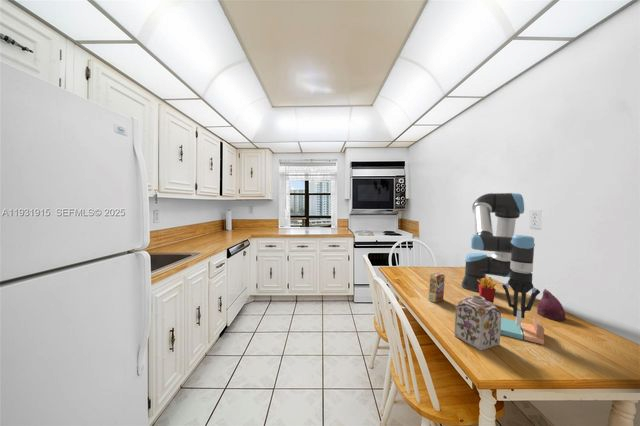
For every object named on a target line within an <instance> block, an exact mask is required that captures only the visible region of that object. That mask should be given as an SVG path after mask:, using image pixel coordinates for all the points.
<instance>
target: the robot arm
mask: <svg viewBox="0 0 640 426" xmlns="http://www.w3.org/2000/svg"><path fill="white" fill-rule="evenodd" d="M471 208H472V209H471V210H472V213H473V215H474V229H475V230H474V231H475V234H472V235H471V239H470V240H471V241H470V242H471V243H470V248H471V249H473V250H477V251H484V252H492V253H491V254H490V256H488V255H487V253H483V252H482V253H481V252H473V253H471V252H470V253H468V254H466V255H465V266H464V269H465V270H464V277H463V278H462V281H461V285H460V286H461V288H463V289H465V290H468V291H471V290H472V291H471V292H476V291H477V293H479V284H480V283H479V282H478V281H477V279H478V280H480V279H482V278H485V277H486V276H487V275H488V276H497V277H503V278H509V279H508V281H507V282H505V283H502V284H501V286H502V288H503V290H504V291H505V292H504V293H505V297H506V300H507V301H506V302H507V304H508V307H509V308H511V309H512V315H513V317H515V321H516V325H519V326H521V322H522V319H525V317H526V315H525V313H526V311H527V312H530V311H531V310H532V308H533V305H534V303H535V300H536V298H537V296H538V295H539V294H541V291H540V290H539V289H538V288H536V287H535V286H534V284H533V275H534V274H533V272H534V269H533V268H534V251H535V245H536V244H535V238H534V237H533V236H529V235H522V234H521V235H520V234H515V229H516V228H515V227H516V221H517V219H519V218H520V216H521V215H523V214H524V213H525V201H524V197H523V195H522V194H520V193H513V192H507V193H506V192H505V193H503V192H502V193H499V192H498V193H496V192H495V193H494V192H493V193H492V192H491V193H485V194H482V195H480V196H479V197H478V198H476V200H474V202H473V204H472V207H471ZM491 213H492V214H493V213H494V216H495V217H496V218H497V222H496V224H497V225H496V231H495V232H496V233H495V235H494V231H493V223H492V216H491ZM486 278H487V277H486ZM480 281H481V280H480ZM484 284H485V282H484ZM509 288H511V290H512V291H513V303H512V300H511V297H510V291H509ZM528 292H531V294H530V297H529V299H528V301H527V303H526V300H527V298H526V297H527V293H528ZM519 293H521V295H520V296H521V297H520V308H518V305H519V304H518V303H519Z"/></svg>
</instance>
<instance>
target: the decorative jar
mask: <svg viewBox="0 0 640 426" xmlns="http://www.w3.org/2000/svg"><path fill="white" fill-rule="evenodd" d="M501 318H502V312H501V310H500V309H498V307H497V306H496V304H494V302H493V303H491V302H489V301H486V300H485V298H483V297H481V296H479V295H471V296H466V297H462V298H460V300H459V301H458V302H457V303H456V304H455V315H454V332H453V333H454V337H456V338H458V339H459V340H460V341H463V342H465V343H466V344H468V345H470V346H472V347H474V348H475V349H477V350H479V351H481V352H482V351H485V350H487V349H490V348H493V347H495V346H500V342H501V334H500V331H501Z"/></svg>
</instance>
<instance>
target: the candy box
mask: <svg viewBox="0 0 640 426" xmlns="http://www.w3.org/2000/svg"><path fill="white" fill-rule="evenodd" d="M429 276H430V278H429V289H428V301H430V302H433V303H437V302H440V301H442V300H444V293H445V278H446V274H445V273H442V272H436V273H432V274H430V275H429Z"/></svg>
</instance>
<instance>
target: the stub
mask: <svg viewBox="0 0 640 426" xmlns="http://www.w3.org/2000/svg"><path fill="white" fill-rule="evenodd" d="M532 319H533V321H532V324H531V323H528V322H527V323H526V322H523V321H521V326H520V327H521V330H522V333H523V341H527V342H532V343H536V344H540V345H545V338H544V337H545V328H544V326H543V325H542V322H541V321H540V318H539V317H535V316H533V318H532Z"/></svg>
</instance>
